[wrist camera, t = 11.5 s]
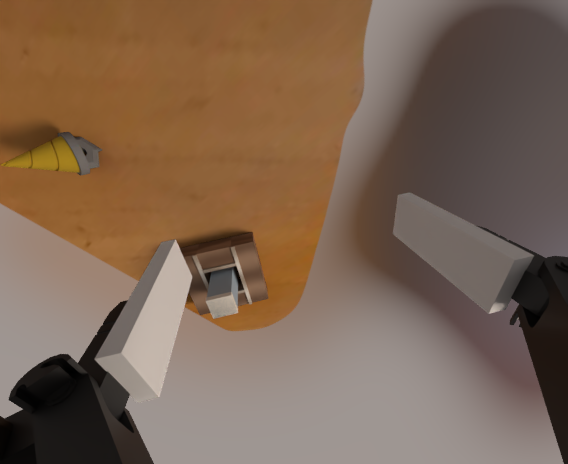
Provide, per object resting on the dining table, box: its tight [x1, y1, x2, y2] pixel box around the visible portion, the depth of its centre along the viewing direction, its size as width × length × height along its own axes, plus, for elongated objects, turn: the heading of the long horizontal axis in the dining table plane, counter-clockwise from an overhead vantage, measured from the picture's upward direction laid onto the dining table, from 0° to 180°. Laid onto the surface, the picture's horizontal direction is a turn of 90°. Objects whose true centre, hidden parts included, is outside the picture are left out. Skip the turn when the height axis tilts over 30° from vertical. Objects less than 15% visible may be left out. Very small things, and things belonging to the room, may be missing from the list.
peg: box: [206, 266, 238, 318], centre depth 41 cm, size 4×4×10 cm
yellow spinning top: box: [1, 132, 102, 175], centre depth 29 cm, size 5×5×10 cm
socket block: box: [180, 232, 268, 315], centre depth 44 cm, size 14×14×4 cm
